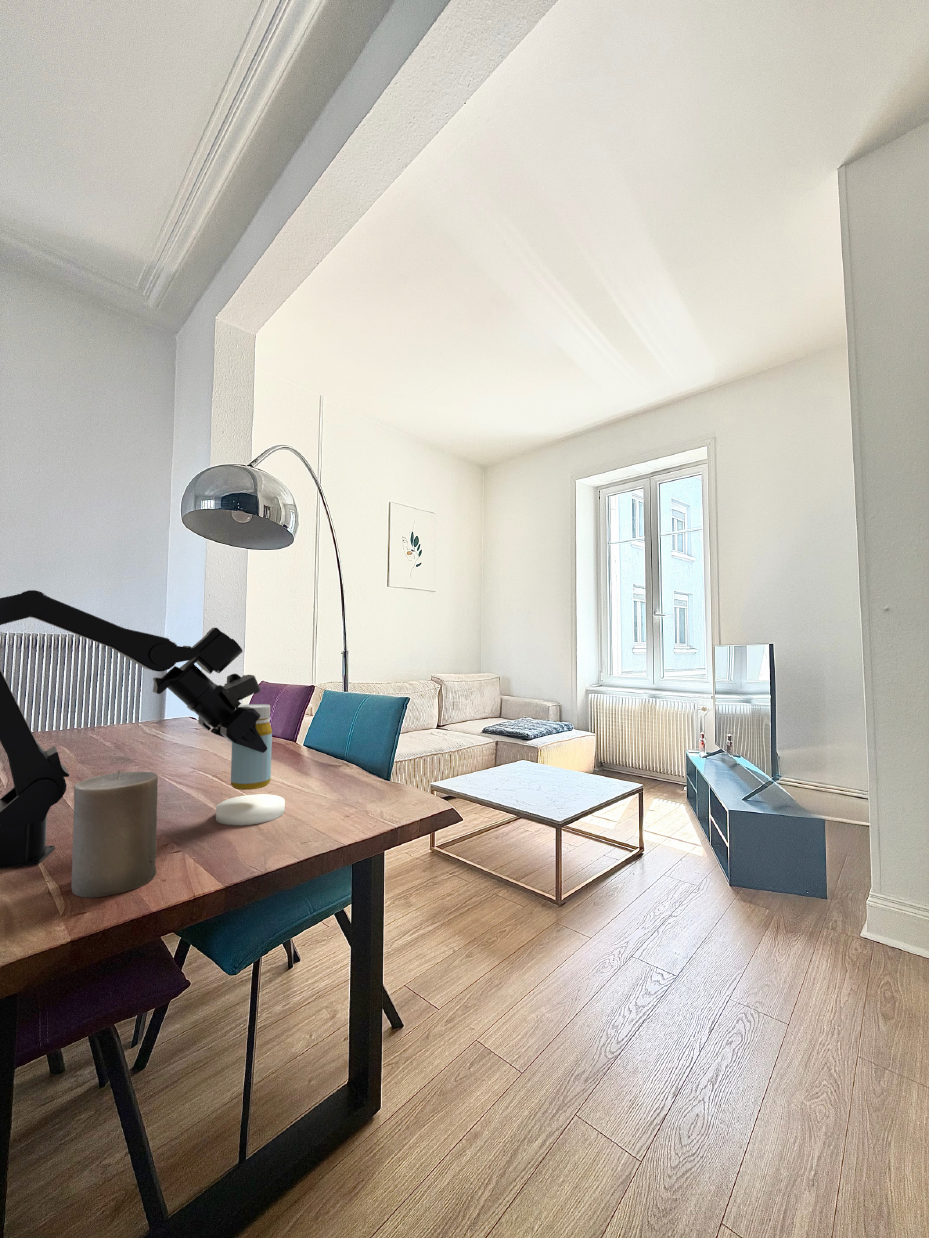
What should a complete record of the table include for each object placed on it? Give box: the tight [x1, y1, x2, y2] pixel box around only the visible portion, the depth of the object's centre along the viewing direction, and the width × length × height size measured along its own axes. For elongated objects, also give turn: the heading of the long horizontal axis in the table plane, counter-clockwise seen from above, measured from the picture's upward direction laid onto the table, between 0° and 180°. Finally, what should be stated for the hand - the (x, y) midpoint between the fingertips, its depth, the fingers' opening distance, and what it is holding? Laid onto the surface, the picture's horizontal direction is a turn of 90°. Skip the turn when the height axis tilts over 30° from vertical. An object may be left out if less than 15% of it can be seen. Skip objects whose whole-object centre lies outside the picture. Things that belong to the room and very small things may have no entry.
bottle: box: [230, 703, 273, 791], centre depth 100 cm, size 7×7×15 cm
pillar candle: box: [70, 769, 159, 899], centre depth 72 cm, size 10×10×15 cm
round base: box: [215, 793, 286, 826], centre depth 99 cm, size 12×12×2 cm
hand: (258, 747), depth 101 cm, fingers closed on bottle, 7 cm apart
